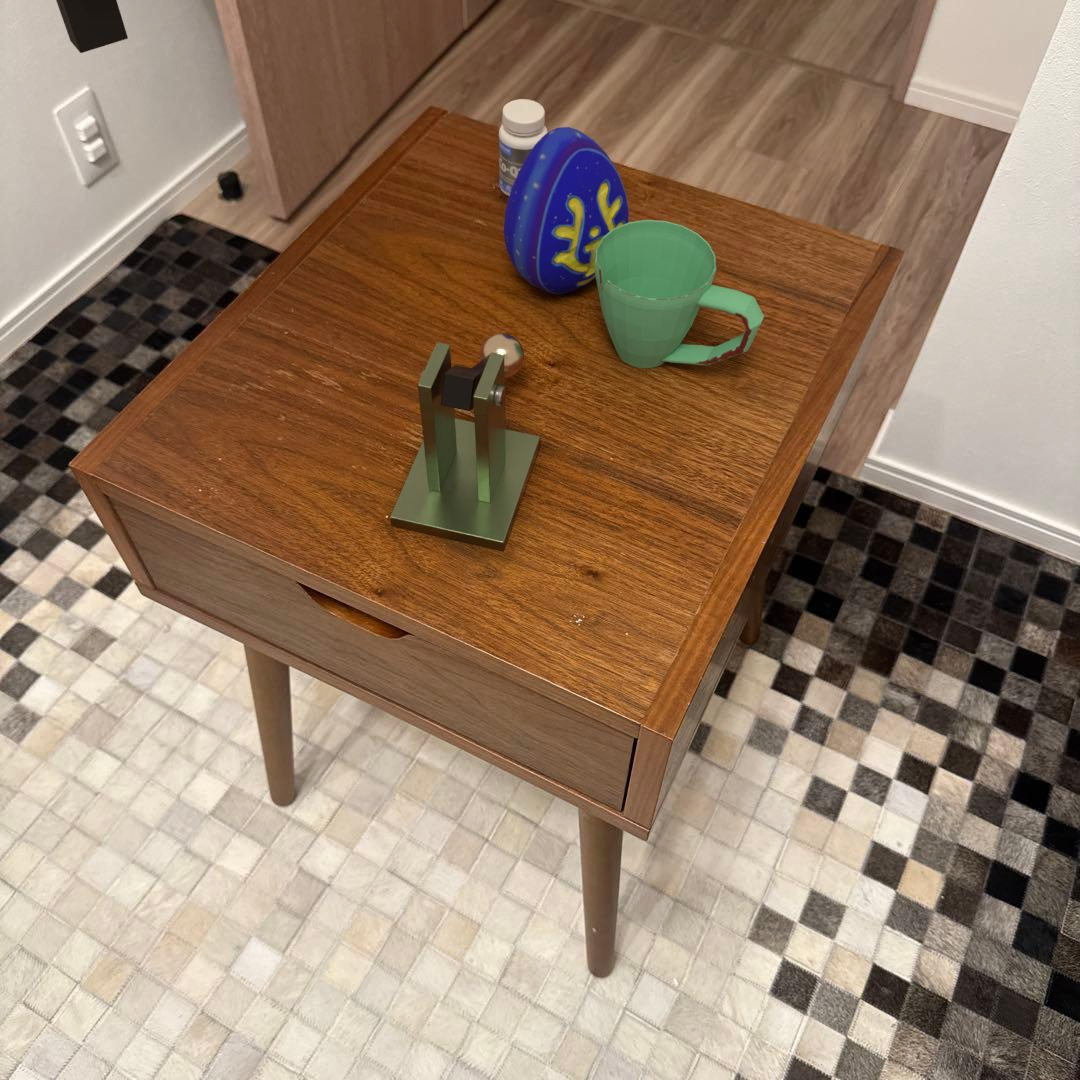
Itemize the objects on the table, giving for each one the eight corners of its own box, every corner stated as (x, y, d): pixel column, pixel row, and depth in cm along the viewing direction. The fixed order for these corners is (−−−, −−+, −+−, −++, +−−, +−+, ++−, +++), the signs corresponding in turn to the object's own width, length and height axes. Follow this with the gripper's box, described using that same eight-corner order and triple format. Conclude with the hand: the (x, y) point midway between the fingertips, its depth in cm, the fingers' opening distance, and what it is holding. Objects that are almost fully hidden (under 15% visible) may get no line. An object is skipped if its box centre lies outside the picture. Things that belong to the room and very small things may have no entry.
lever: (483, 368, 90) (489, 326, 88) (525, 377, 89) (531, 334, 88) (429, 411, 76) (435, 362, 74) (478, 421, 75) (485, 372, 74)
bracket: (435, 423, 89) (424, 305, 78) (540, 445, 88) (543, 328, 77) (391, 526, 83) (373, 413, 72) (503, 551, 81) (502, 440, 71)
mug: (567, 361, 93) (572, 271, 85) (620, 296, 98) (630, 205, 90) (720, 428, 89) (741, 339, 81) (767, 356, 94) (791, 266, 86)
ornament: (544, 329, 96) (548, 186, 83) (483, 274, 100) (478, 130, 87) (637, 279, 100) (654, 135, 87) (575, 228, 104) (583, 84, 92)
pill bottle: (491, 193, 107) (489, 117, 100) (511, 167, 109) (510, 91, 102) (534, 206, 106) (536, 130, 99) (553, 179, 108) (556, 103, 101)
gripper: (63, -551, 38) (214, 74, 57) (-56, -613, 44) (117, -30, 63) (-159, -527, 35) (78, 119, 54) (-252, -597, 41) (-10, 7, 61)
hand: (99, 39), depth 59 cm, fingers closed
